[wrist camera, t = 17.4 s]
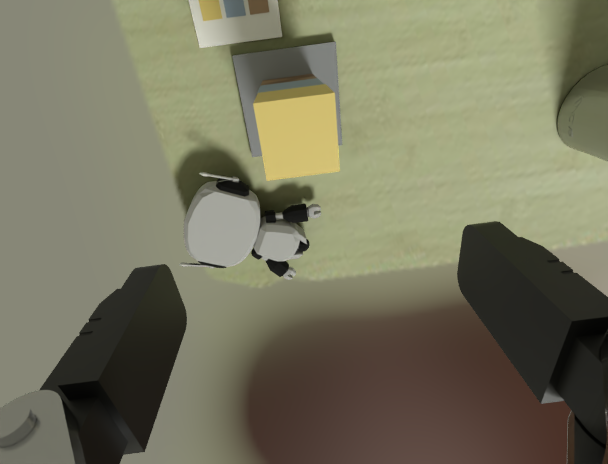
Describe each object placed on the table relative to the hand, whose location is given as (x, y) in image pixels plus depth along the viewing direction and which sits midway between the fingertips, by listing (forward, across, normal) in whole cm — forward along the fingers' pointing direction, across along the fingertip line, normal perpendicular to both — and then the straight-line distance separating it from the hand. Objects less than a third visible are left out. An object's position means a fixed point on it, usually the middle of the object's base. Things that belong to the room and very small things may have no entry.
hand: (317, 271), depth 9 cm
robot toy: (+30, +7, +13) cm, 34 cm away
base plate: (+30, 0, 0) cm, 30 cm away
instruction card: (+30, +4, -9) cm, 32 cm away
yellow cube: (+19, 0, 0) cm, 19 cm away
